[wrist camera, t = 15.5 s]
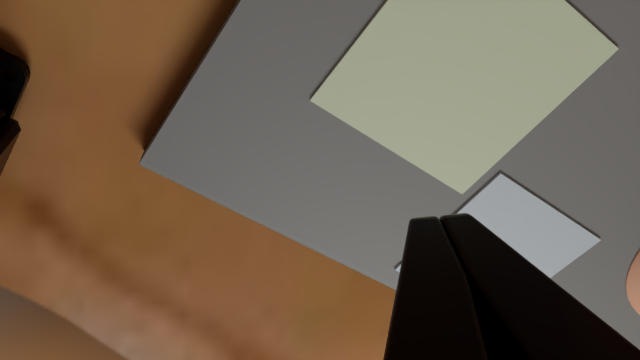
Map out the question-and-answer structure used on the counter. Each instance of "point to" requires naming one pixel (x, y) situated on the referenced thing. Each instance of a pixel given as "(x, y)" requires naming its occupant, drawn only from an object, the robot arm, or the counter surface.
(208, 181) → the picture board
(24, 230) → the counter surface
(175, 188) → the counter surface
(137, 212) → the counter surface
